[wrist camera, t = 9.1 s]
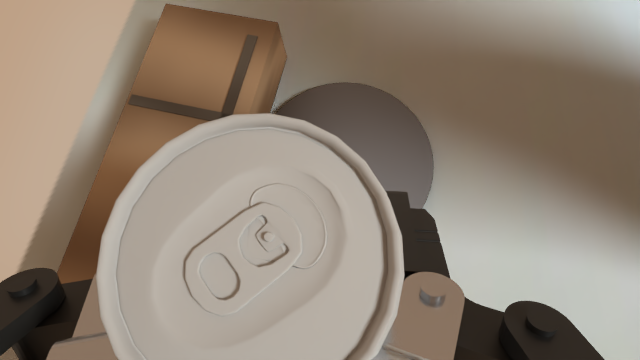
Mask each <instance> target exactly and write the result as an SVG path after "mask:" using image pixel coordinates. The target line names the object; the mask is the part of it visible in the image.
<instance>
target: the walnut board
mask: <svg viewBox="0 0 640 360" xmlns="http://www.w3.org/2000/svg"><path fill="white" fill-rule="evenodd" d="M286 58H287V56H286V52H285V48H284V44H283V40H282V36H281V33H280V29H279V25H278V23H277V22H272V21H266V20H260V19H254V18H248V17H242V16H236V15H230V14H224V13H218V12H212V11H207V10H201V9H195V8H189V7H183V6H177V5H171V4H166V5H165V7H164V10H163V12H162V15H161V17H160V19H159V22H158V24H157V27H156V29H155V32H154V34H153V37H152V39H151V42H150V44H149V47H148V49H147V52H146V54H145V57H144V59H143V62H142V64H141V66H140V69H139V71H138V74H137V76H136V79H135V81H134V84H133V86H132V89H131V91H130V94H129V96H128V99H127V101H126V104H125V106H124V109H123V111H122V114H121V116H120V118H119V121H118V123H117V126H116V128H115V131H114V133H113V136H112V138H111V141H110V143H109V146H108V148H107V151H106V153H105V156H104V158H103V161H102V163H101V165H100V168H99V170H98V173H97V175H96V178H95V180H94V183H93V185H92V188H91V190H90V193H89V195H88V198H87V200H86V203H85V205H84V208H83V210H82V213H81V215H80V217H79V220H78V222H77V225H76V227H75V230H74V232H73V235H72V237H71V240H70V242H69V245H68V247H67V250H66V252H65V255H64V257H63V260H62V262H61V264H60V267H59V269H58V272H57V275H58V277H59V279H60V282H61V284H64V283H70V282H76V281H82V280H88V279H93V277H94V275H95V274H96V272H97V265H98V258H99V251H100V244H101V237H102V234H103V232H104V229H105V227H106V224H107V221H108V219H109V216H110V214H111V211H112V209H113V206H114V204H115V201H116V199H117V198H118V196H119V195H120V193H121V192H122V191H123V189H124V188H125V186H126V185H127V183H128V182H129V181H130V179H131V178H132V176H133V175H134V173H135V172H136V171H137V169H138V168H139V167H140V166H141V165H142V164H143V163H144V162H146V161H147V160H148V159H149V158H150V157H151V156H152V155H153V154H154V153H155V152H156V151H158V150H159V149H160V148H161V147H162V146H163V145H164V144H165V143H167V142H168V141H170V140H172V139H174V138H175V137H177V136H179V135H181V134H183V133H184V132H186V131H188V130H190V129H192V128H193V127H195V126H197V125H199V124H203V123H206V122H210V121H213V120H217V119H220V118H223V117H227V116H230V115H236V114H263V113H270V111H271V108H272V105H273V102H274V98H275V95H276V92H277V88H278V85H279V82H280V78H281V75H282V72H283V68H284V65H285V62H286Z"/></svg>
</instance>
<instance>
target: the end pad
mask: <svg viewBox="0 0 640 360" xmlns="http://www.w3.org/2000/svg"><path fill="white" fill-rule="evenodd" d="M276 115H281V116H286V117H290V118H295V119H300V120H305V121H307V122H309V123H311V124H313V125H315V126H317V127H319V128H321V129H323V130H325V131H327V132H329V133H331V134H333V135H335V136H337V137H338V138H339V139H341V140H342V141H343V142H344V143H345V144H346V145H348V146H349V147H350V148H351V149H352V150H353V151H354V152H356V153H357V154H358V155H359V156H360V157H361V158H362V159H364V160H365V161H366V163H367V164H368V166H369V167H370V169H371V170H372V172H373V173H374V175H375V176H376V178H377V179H378V181H379V182H380V184H381V185H382V187H383V188H384V190H385V191H401V192H407V193H408V198H409V203H410V208H416V209H422V207H423V205H424V204H425V202H426V200H427V197H428V194H429V191H430V188H431V184H432V179H433V155H432V150H431V146H430V143H429V140H428V137H427V134H426V132H425V130H424V129H423V127H422V125H421V123H420V122H419V120H418V119H417V118H416V116H415V115H414V114H413V113H412V112H411V111H410V110H409V108H408V107H406V106H405V105H404V104H403V103H402V102H401V101H399V100H398V99H396V98H395V97H393V96H392V95H390V94H388V93H386V92H384V91H382V90H380V89H377V88H374V87H371V86H367V85H362V84H357V83H333V84H326V85H322V86H319V87H315V88H312V89H310V90H307V91H305V92H303V93H301V94H299V95H298V96H296V97H294V98H293V99H292V100H290V101H289V102H287V103H286V104H285V105H284V106H283V107H282V108H281V109H279V110H278V112H277V113H276Z"/></svg>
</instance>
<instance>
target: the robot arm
mask: <svg viewBox="0 0 640 360" xmlns="http://www.w3.org/2000/svg"><path fill="white" fill-rule="evenodd" d="M386 193H387V196H388V198H389V200H390V202H391V205H392V208H393V211H394V214H395V217H396V220H397V223H398V226H399V228H400V231H401V234H402V243H403V259H404V275H405V276H404V281H403V286H402V291H401V296H400V301H399V307H398V312H397V316H396V318H395V320H394V322H393V324H392V326H391V328H390V330H389V332H388V335H387V337H386V339H385V341H384V343H383V345H382V347H381V349H380V351H379V353H378V354H377V355H376V356H375V357H374V358H373V359H371V360H604V359H603V358H602V356H601V355H600V354H599V353H598V352H597V351H596V350H595V349H594V347H593V346H592V345H591V344H590V343H589V342H588V341H587V339H586V338H585V337H584V336H583V335H582V334H581V333H580V332H579V330H578V329H577V328H576V327H575V326H574V325H573V324H572V323H571V322H570V321H569V320H568V319H567V318H566V317H565V316H564V315H563V314H562V313H560V312H558V311H557V310H555V309H553V308H551V307H549V306H547V305H544V304H541V303H538V302H533V301H519V302H515V303H513V304H511V305H509V306H508V307H507V309H506V310H505V313H504V312H501V311H498V310H494V309H491V308H488V307H485V306H482V305H479V304H476V303H474V302H472V301H470V300H469V299H467V298H466V297H464V293H463V291H462V290H461V288H460V287H459V286H458V285H457V283H455V282H454V281H453V280H451V279H450V275H449V271H448V268H447V264H446V260H445V257H444V253H443V249H442V246H441V243H440V238H439V235H438V233H437V227H436V223H435V220H434V218H433V217H432V216H431V215H430V214H429V213H428V212H427V211H426V210H425V209H416V208H410V203H409V198H408V193H407V192H401V191H386ZM10 347H12V348H13V350H14V351H15V353H16V355H17V357H18V358H19V360H118V358H117V357H116V356H115V353H114V351H113V348H112V346H111V343H110V341H109V338H108V335H107V333H106V330H105V328H104V325H103V323H102V320H101V318H100V310H99V301H98V292H97V283H96V274H95V275H94V277H93V279H88V280H82V281H76V282H70V283H64V284H61V282H60V279H59V277H58V275H57V273H56V272H55V271H54V270H51V269H47V268H36V269H30V270H26V271H23V272H20V273H17V274H15V275H13V276H11V277H9V278H7V279H6V280H4V281H2V282H1V283H0V356H1V355H2V354H3V353H4V352H6V351H7V350H8V349H9V348H10Z"/></svg>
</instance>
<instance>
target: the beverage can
mask: <svg viewBox="0 0 640 360" xmlns="http://www.w3.org/2000/svg"><path fill="white" fill-rule="evenodd" d="M404 276H405V275H404V259H403V243H402V234H401V231H400V228H399V226H398V223H397V220H396V217H395V214H394V211H393V208H392V205H391V202H390V200H389V198H388V196H387V193H386V191H385V190H384V188H383V187H382V185H381V184H380V182H379V181H378V179H377V178H376V176H375V175H374V173H373V172H372V170H371V169H370V167H369V166H368V164H367V163H366V161H365V160H364V159H362V158H361V157H360V156H359V155H358V154H357V153H356V152H354V151H353V150H352V149H351V148H350V147H349V146H348V145H346V144H345V143H344V142H343V141H342V140H341V139H339V138H338V137H337V136H335V135H333V134H331V133H329V132H327V131H325V130H323V129H321V128H319V127H317V126H315V125H313V124H311V123H309V122H307V121H305V120H300V119H295V118H290V117H286V116H281V115H276V114H271V113H263V114H236V115H230V116H227V117H223V118H220V119H217V120H213V121H210V122H206V123H203V124H199V125H197V126H195V127H193V128H192V129H190V130H188V131H186V132H184V133H183V134H181V135H179V136H177V137H175V138H174V139H172V140H170V141H168V142H167V143H165V144H164V145H163V146H162V147H161V148H160V149H159V150H158V151H156V152H155V153H154V154H153V155H152V156H151V157H150V158H149V159H148V160H147V161H146V162H144V163H143V164H142V165H141V166H140V167H139V168H138V169H137V171H136V172H135V173H134V175H133V176H132V178H131V179H130V181H129V182H128V183H127V185H126V186H125V188H124V189H123V191H122V192H121V193H120V195H119V196H118V198H117V199H116V201H115V204H114V206H113V209H112V211H111V214H110V216H109V219H108V221H107V224H106V227H105V229H104V232H103V234H102V237H101V244H100V251H99V258H98V265H97V272H96V283H97V292H98V301H99V310H100V318H101V320H102V323H103V325H104V328H105V330H106V333H107V335H108V338H109V341H110V343H111V346H112V348H113V351H114V353H115V356H116V357H117V358H118V360H371V359H373V358H374V357H375V356H376V355H377V354H378V353H379V351H380V349H381V347H382V345H383V343H384V341H385V339H386V337H387V335H388V332H389V330H390V328H391V326H392V324H393V322H394V320H395V318H396V316H397V312H398V307H399V301H400V296H401V291H402V286H403V281H404Z"/></svg>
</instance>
